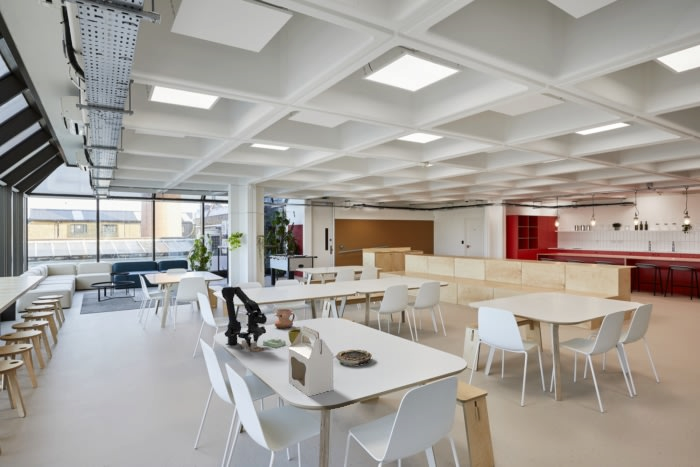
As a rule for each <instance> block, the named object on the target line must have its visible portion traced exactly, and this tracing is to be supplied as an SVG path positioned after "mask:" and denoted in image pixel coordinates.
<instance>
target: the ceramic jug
mask: <svg viewBox="0 0 700 467" xmlns="http://www.w3.org/2000/svg"><path fill="white" fill-rule="evenodd" d="M275 311H276V313H274V314H273V317H277V318H278V319H277V320H276V321H275V322H274V326H275V327H276V328H278V329H289V328H291V327H292V326H293V325H294V323H293V322H294V320H295V313H294V312H292V311H293V310H292V309H291V308H278V309H276V310H275ZM291 316H292V318H291ZM290 318H291V319H290Z"/></svg>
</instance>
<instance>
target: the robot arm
mask: <svg viewBox="0 0 700 467" xmlns="http://www.w3.org/2000/svg"><path fill="white" fill-rule="evenodd" d="M220 291H221V292H220V293H221V295H222V298H223V299H224V300H225V304H226V309H227V311H226V312H227V315H228V324H227V329H226V331H225V332H224V336H225V337H227V343H225V345H227V346H230V347H233V346H235V345H236V346H237V345H239V344H240V343H239V342H238V338H239V339H243V340H246V342H247V344H248V346H249V347H250V345H251V341H252V340H251V339H252V338H253V341H257V342H258V341H259V338H260V337H261V336H263V334H264V335H265V334H266V333H267V329H266V326H260V325H265V324H266V323H267V320H268V318H267V315H265V313H264V312H262V310H261V308H260V306H259V304H258V302H256V301H255V300H253V299H251V298H249V296H248V295H247V294H246V293H245V292H244V291H243V289H242V287H240V286H234V287H233V286H226V287H225V286H224V287H222V289H221V290H220ZM235 296H236V297H237V298H238V299H239V300H240V301H241V303H242V304H243V305H244V309H245V311H246V312H245V316H247V323H246V326H247V330H246V332H244V331H242V323H241V321H239V320H238V319H237V314H236V307H235V302H234V298H235ZM241 331H242V332H241ZM251 335H252V336H251Z"/></svg>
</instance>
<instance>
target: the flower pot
mask: <svg viewBox="0 0 700 467" xmlns="http://www.w3.org/2000/svg"><path fill="white" fill-rule="evenodd" d="M300 329H301V328H299V329H298V328H296V329H294V328H291V330H289V331H288V339H289V342H290V345H291V344H292V343H293V341H294V340H295V338H296V337H297V335H298V333H300Z"/></svg>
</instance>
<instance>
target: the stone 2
mask: <svg viewBox="0 0 700 467" xmlns="http://www.w3.org/2000/svg"><path fill="white" fill-rule="evenodd" d="M272 339H273V338H272ZM281 340H282V339H281V338H278V337H276V338H275V339H273V343H278V342H281Z"/></svg>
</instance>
